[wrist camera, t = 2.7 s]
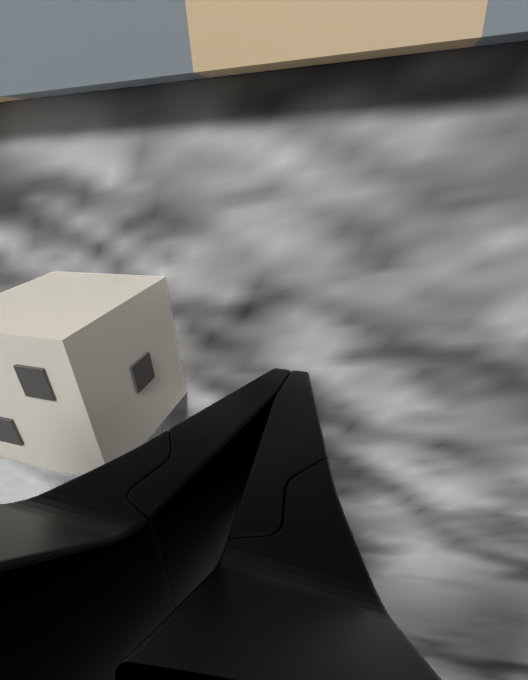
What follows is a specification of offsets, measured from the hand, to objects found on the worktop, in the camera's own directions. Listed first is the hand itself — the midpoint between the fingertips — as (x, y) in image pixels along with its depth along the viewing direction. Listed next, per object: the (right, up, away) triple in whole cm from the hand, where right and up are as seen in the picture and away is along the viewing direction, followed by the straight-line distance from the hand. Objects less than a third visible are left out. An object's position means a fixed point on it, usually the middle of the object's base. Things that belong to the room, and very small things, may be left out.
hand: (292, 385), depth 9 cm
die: (-5, +1, +3) cm, 6 cm away
